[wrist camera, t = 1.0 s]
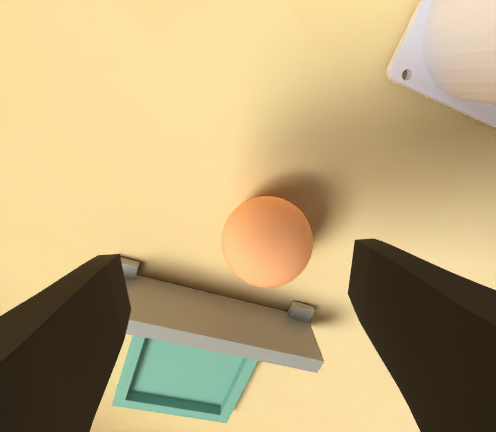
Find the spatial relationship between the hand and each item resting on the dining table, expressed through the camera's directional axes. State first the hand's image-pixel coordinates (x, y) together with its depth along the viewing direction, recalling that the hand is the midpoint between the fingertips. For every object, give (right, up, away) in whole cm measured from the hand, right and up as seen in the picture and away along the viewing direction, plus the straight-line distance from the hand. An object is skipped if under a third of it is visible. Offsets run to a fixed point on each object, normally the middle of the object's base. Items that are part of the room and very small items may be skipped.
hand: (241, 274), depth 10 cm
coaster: (-4, -9, +14) cm, 17 cm away
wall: (-2, -4, +12) cm, 13 cm away
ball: (+1, +1, +10) cm, 10 cm away
